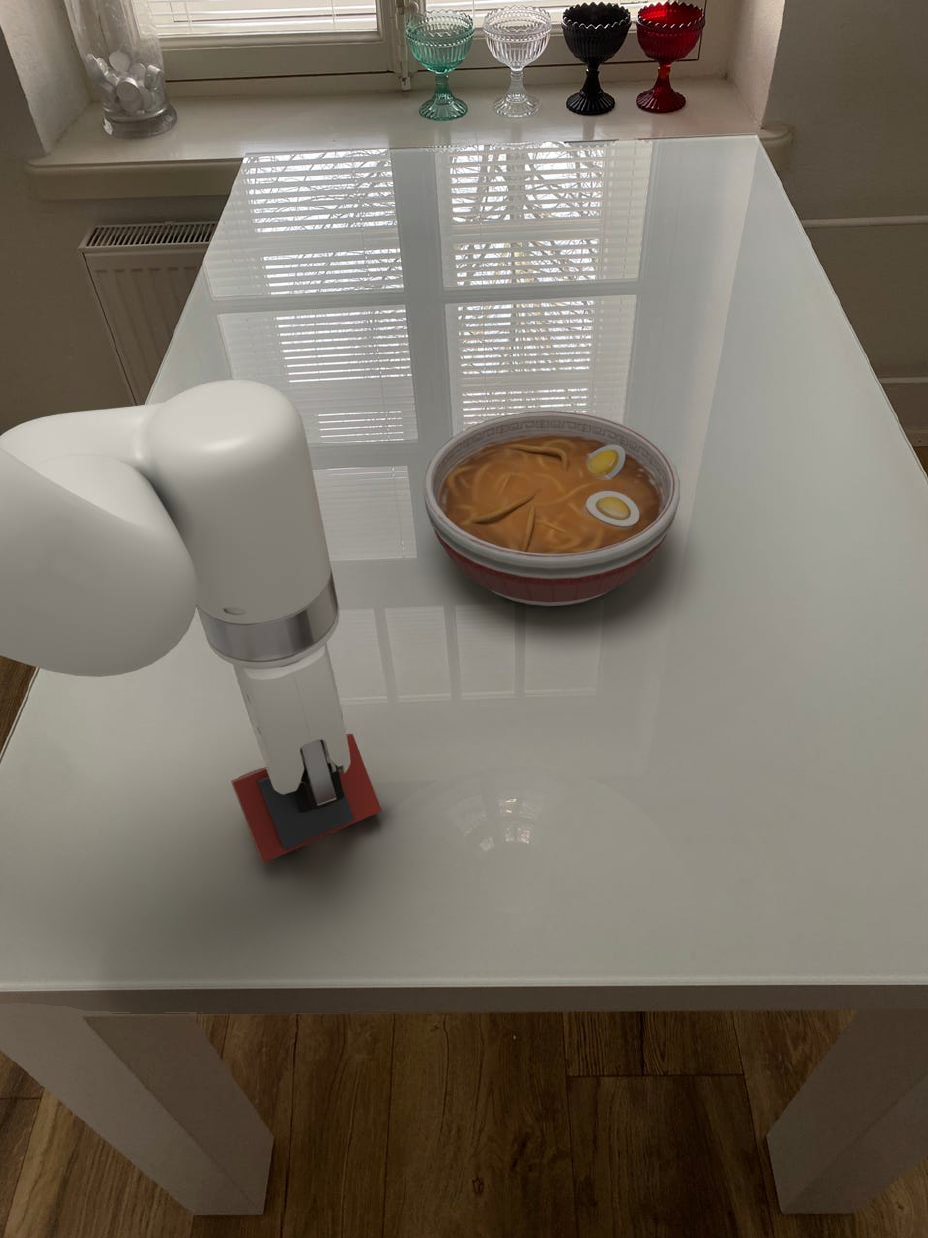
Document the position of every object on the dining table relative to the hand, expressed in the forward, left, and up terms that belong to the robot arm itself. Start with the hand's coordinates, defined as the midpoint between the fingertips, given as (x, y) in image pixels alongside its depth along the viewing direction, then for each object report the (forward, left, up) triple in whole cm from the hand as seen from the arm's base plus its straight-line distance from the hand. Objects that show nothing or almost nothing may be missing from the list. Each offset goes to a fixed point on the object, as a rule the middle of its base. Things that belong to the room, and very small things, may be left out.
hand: (319, 797), depth 66 cm
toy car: (0, 0, -4) cm, 4 cm away
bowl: (+36, -4, -6) cm, 36 cm away
